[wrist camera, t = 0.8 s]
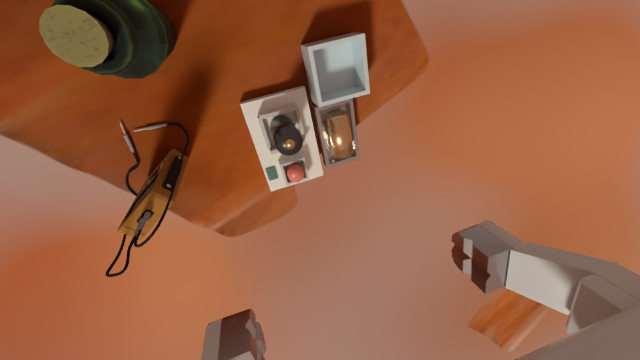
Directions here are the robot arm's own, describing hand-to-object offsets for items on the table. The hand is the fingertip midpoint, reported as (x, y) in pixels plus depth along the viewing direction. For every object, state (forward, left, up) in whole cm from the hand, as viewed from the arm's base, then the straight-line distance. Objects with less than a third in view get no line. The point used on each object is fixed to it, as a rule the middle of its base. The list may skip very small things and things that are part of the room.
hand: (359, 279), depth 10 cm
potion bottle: (-10, -12, -37) cm, 40 cm away
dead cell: (+6, +1, -35) cm, 35 cm away
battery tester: (+9, +1, -36) cm, 37 cm away
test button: (+13, +1, -34) cm, 36 cm away
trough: (+10, +10, -36) cm, 39 cm away
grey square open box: (-1, +11, -36) cm, 38 cm away
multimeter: (+5, -20, -37) cm, 42 cm away
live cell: (+10, +10, -36) cm, 38 cm away
